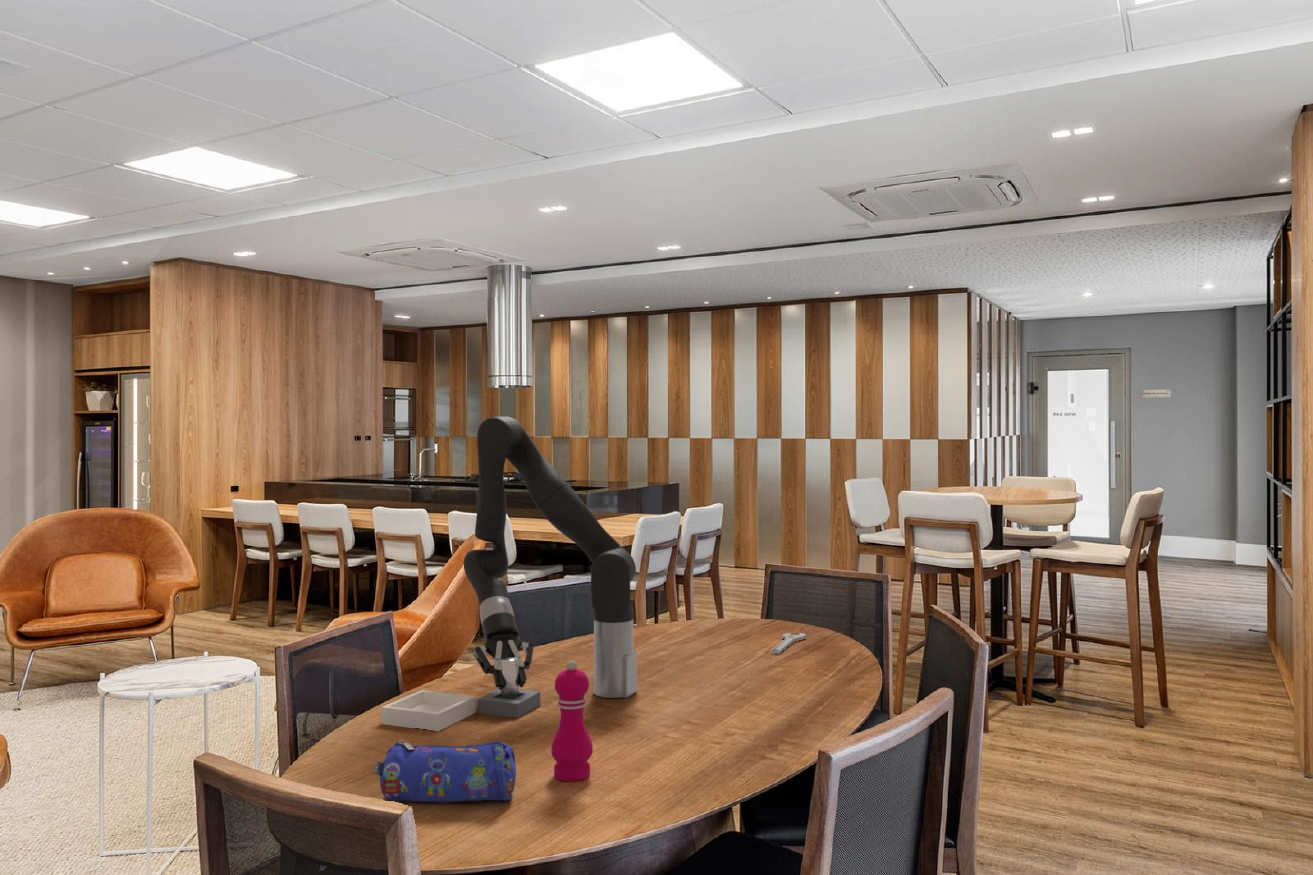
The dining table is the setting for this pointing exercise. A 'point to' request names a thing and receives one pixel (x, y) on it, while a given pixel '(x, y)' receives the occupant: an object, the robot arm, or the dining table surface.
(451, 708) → the tray
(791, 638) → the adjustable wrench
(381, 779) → the pencil case
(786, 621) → the dining table surface
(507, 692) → the pin
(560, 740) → the pepper mill
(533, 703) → the socket block
